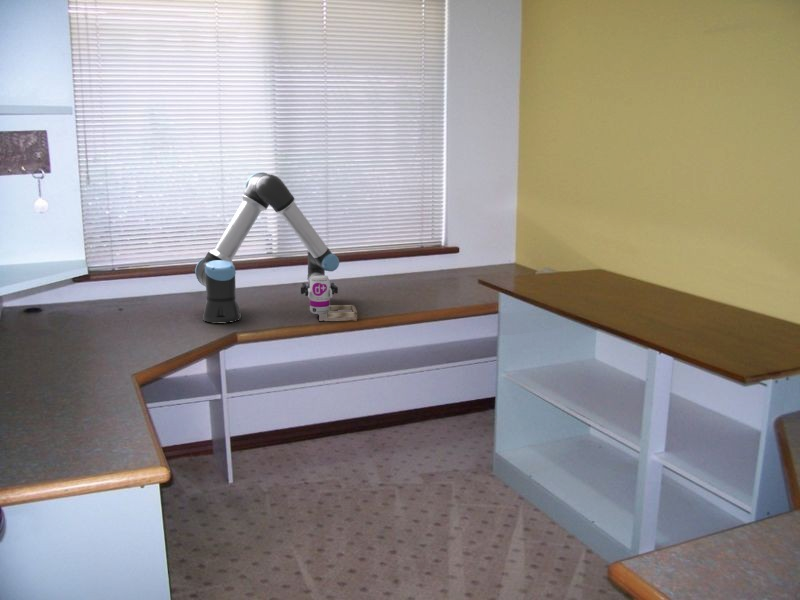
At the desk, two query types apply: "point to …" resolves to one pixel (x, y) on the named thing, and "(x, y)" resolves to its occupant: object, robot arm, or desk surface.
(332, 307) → the dock
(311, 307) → the supplement can
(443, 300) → the desk surface
